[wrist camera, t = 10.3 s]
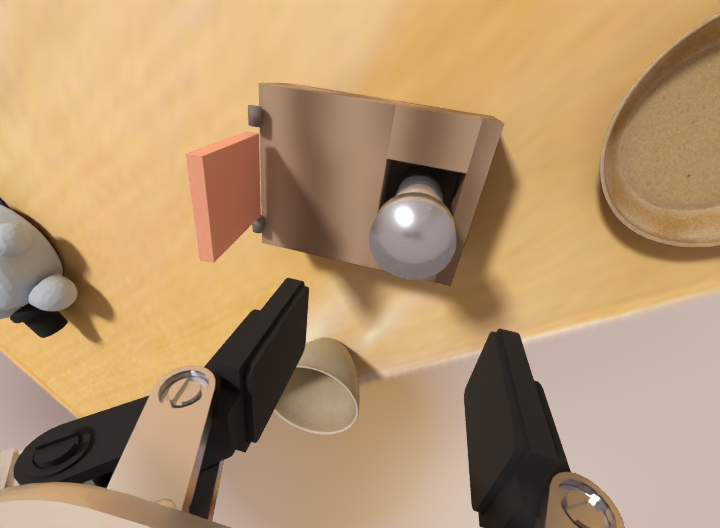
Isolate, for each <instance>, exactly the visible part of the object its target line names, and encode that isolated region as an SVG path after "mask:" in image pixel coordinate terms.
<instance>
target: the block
mask: <svg viewBox="0 0 720 528" xmlns="http://www.w3.org/2000/svg"><path fill="white" fill-rule="evenodd" d="M248 120H249V126H254V127H260V159H261V206H262V215H261V216H260V217H259V218H258V219H257V220H256V221H255V222H254V223H253V224H252V226H253V232H255V233H262V243H265V244H270V245H274V246H278V247H283V248H287V249H291V250H296V251H300V252H305V253H309V254H313V255H318V256H322V257H326V258H331V259H335V260H340V261H344V262H348V263H353V264H357V265H361V266H366V267H370V268H375V269H379V270H383V271H385V270H384V269H383V268H382V267H381V266H380V265H379V264H378V263H377V262H376V260H375V259H374V257H373V255H372V252H371V250H370V245H369V234H370V229H371V226H372V224H373V222H374V220H375V218H376V216H377V214H378V212H379V210H380V209H381V207H382V206H383V205H384V204H385V203H386V202H387V201H389V200H390V199H391V198H393V197H395V196H396V193H397V191H398V188H399V186H400V183H401V181H402V178H403V176H404V174H405V173H406V172H407V171H408V170H409V169H411V168H412V167H415V166H418V165H424V166H429V167H432V168H433V169H435V170H436V171H437V172H438V173H439V175H440V177H441V180H442V193H443V204H444V205H445V206H446V207H447V208H448V209H449V211H450V212H451V214H452V217H453V219H454V223H455V230H456V240H457V242H456V249H455V253H454V255H453V257H452V259H451V261H450V262H449V263H448V265H447V266H446V267H445V268H444V269H443V270H441V271H440V272H439V273H437V274H435V275H433V276H431V277H428V278H424V279H423V280H427V281H431V282H436V283H440V284H445V285H449V286H451V283H452V280H453V277H454V274H455V271H456V268H457V265H458V262H459V259H460V256H461V253H462V250H463V247H464V244H465V241H466V238H467V235H468V232H469V229H470V226H471V223H472V220H473V217H474V214H475V211H476V208H477V205H478V201H479V198H480V195H481V192H482V189H483V186H484V183H485V180H486V177H487V174H488V171H489V168H490V165H491V162H492V159H493V156H494V153H495V150H496V147H497V144H498V141H499V138H500V135H501V132H502V129H503V126H504V123H503V122H501V121H500V120H498V119H496V118H495V117H493V116H487V115H481V114H474V113H468V112H462V111H456V110H450V109H444V108H438V107H431V106H425V105H419V104H413V103H407V102H401V101H394V100H388V99H382V98H376V97H370V96H364V95H358V94H351V93H345V92H339V91H333V90H327V89H321V88H315V87H308V86H302V85H296V84H290V83H259V106H253V105H248Z"/></svg>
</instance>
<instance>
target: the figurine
mask: <svg viewBox="0 0 720 528" xmlns="http://www.w3.org/2000/svg"><path fill="white" fill-rule="evenodd" d="M62 274H63V267H62V263H61V261H60V258H59V256H58V255H57V253H56V251H55V250H54V248H53V247H52V245H51V244H50V243H49V242H48V240H47V239H46V238H45V237H44V236H43V235H42V234H41V233H40V232H39V231H38V230H37V229H36V228H35V227H34V226H33V225H32V224H30V223H29V222H28V221H27V220H25V219H24V218H23V217H21V216H20V215H18V214H17V213H15V212H14V211H12V210H10V209H9V208H7V207H6V206H5V205H4V204H3V203H2V202H1V201H0V319H3V318H7V317H10V319H11V320H12V321H13V322H14V323H21V322H24V323H25V324H26V325H27V326H28V327H29V328H30V329H32V330H33V331H34V332H35V333H36V334H37V335H38V336H40V337H41V338H44V337H48V336H50V335H52V334H54V333H56V332H58V331H59V330H60V329H62V328H63V327H64V326H65V325H66V324H67V323H68V322H67V320H66V319H65V318H64V317H63V316H62V315H61V314H60V313H59V312H58V311H60V310H63V309H65V308H67V307H69V306H70V305H71V304H72V303H73V302H74V301H75V300H76V298H77V288H76V286H75V284H74V283H73V282H72V281H71V280H69V279H67V278H66V277H64V276H62ZM27 303H28V304H27ZM25 304H26V305H25ZM23 305H24V306H23ZM22 306H23V307H22Z"/></svg>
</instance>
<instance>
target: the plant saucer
mask: <svg viewBox="0 0 720 528" xmlns="http://www.w3.org/2000/svg"><path fill="white" fill-rule="evenodd" d="M600 178H601V184H602V189H603V193H604V196H605V198H606V201H607V203H608V205H609V207H610V208H611V210H612V212H613V213H614V214H615V215H616V217H617V218H618V219H619V220H620V221H621V222H622V223H623V224H624V225H625V226H627V227H628V228H629V229H630V230H632V231H634V232H635V233H637V234H639V235H641V236H643V237H645V238H647V239H650V240H653V241H656V242H659V243H663V244H668V245H673V246H681V247H713V246H718V245H720V12H719V13H717V14H715V15H714V16H712V17H710V18H709V19H707V20H705V21H704V22H702V23H701V24H699V25H698V26H696V27H695V28H693V29H692V30H690V31H689V32H688V33H686V34H685V35H684V36H682V37H681V38H679V39H678V40H677V41H676V42H674V43H673V44H672V45H671V46H670V47H669V48H668V49H667V50H665V51H664V52H663V53H662V54H661V55H660V56H659V57H658V58H657V59H656V60H655V61H654V62H653V63H652V64H651V65H650V66H649V67H648V68H647V69H646V70H645V71H644V72H643V73H642V75H641V76H640V77H639V78H638V80H637V81H636V82H635V83H634V84H633V86H632V87H631V89H630V90H629V92H628V93H627V95H626V96H625V98H624V99H623V101H622V102H621V104H620V106H619V107H618V109H617V111H616V113H615V115H614V117H613V119H612V121H611V123H610V126H609V128H608V131H607V134H606V136H605V139H604V143H603V147H602V153H601V160H600Z"/></svg>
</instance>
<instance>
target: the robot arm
mask: <svg viewBox="0 0 720 528" xmlns="http://www.w3.org/2000/svg"><path fill="white" fill-rule="evenodd" d="M308 297H309V287H306V286H304V282H303V281H299V280H295V279H291V278H287V279H285V281H284V282H283V283H282V284H281V286H280V287H279V288H278V289H277V291H276V292H275V293H274V294H273V296H272V297H271V298H270V299H269V301H268V302H267V303H266V304H265V306H264V307H263V308H262V309H261V310H256V309H255V310H253V311H251V312H250V313H249V315H248V316H247V317H246V318H245V319H244V320H243V322H242V323H241V324H240V325H239V326H238V328H237V329H236V330H235V331H234V332H233V333H232V335H231V336H230V337H229V338H228V339H227V341H226V342H225V343H224V344H223V345H222V347H221V348H220V349H219V350H218V351H217V352H216V354H215V355H214V356H213V357H212V358H211V360H210V361H209V362H208V363H207V364H206V365H205V367H201V366H186V367H181V368H178V369H175V370H173V371H171V372H169V373H168V374H166V375H164V376H163V377H162V378H161V379H160V380H159V381H158V382H157V383H156V385H155V386H154V388H153V389H152V391H151V393H150V396H146V397H143V398H140V399H137V400H134V401H131V402H128V403H125V404H122V405H119V406H116V407H113V408H110V409H107V410H104V411H101V412H98V413H95V414H92V415H89V416H86V417H83V418H80V419H77V420H74V421H71V422H68V423H65V424H62V425H59V426H57V427H55V428H52V429H50V430H48V431H47V432H45V433H43V434H42V435H40V436H39V437H37V438H36V439H35V440H34V441H32V442H31V443H30V444H29V445H28V446H27V447H26V448H25V449H23V450H20V451H17V450H16V448H15V447H14V448H11V449H7V450H4V451H1V452H0V528H230V527H227V526H224V525H221V524H218V523H216V522H213V521H212V520H213V514H214V509H215V504H216V499H217V494H218V488H219V484H220V479H221V474H222V469H223V464H224V459H226V458H229V457H231V456H232V455H233V453H234V452H235V450H239V451H242V452H246V450H247V449H248V447H249V445H250V443H251V442H254V443H256V442H257V441H258V440H259V438H260V436H261V434H262V432H263V430H264V428H265V426H266V424H267V423H268V421H269V419H270V417H271V415H272V413H273V411H274V409H275V407H276V405H277V403H278V401H279V399H280V397H281V396H282V394H283V392H284V390H285V388H286V386H287V384H288V382H289V380H290V378H291V376H292V374H293V372H294V370H295V368H296V366H297V365H298V363H299V361H300V359H301V357H302V355H303V352H304V349H305V343H306V328H307V313H308ZM464 404H465V417H466V432H467V446H468V460H469V474H470V488H471V502H472V508H473V510H474V511H477V512H479V525H480V527H483V528H625V527H624V523H623V519H622V517H621V516H620V513H619V511H618V509H617V508H616V506H615V505H614V503H613V502H612V501H611V499H610V498H609V497H608V496H607V495H606V494H605V493H604V492H603V491H602V490H601V489H600V488H599V487H598V486H597V485H595V484H594V483H593V482H591V481H590V480H588V479H587V478H584V477H582V476H580V475H578V474H576V473H571V471H570V468H569V466H568V462H567V459H566V456H565V453H564V450H563V447H562V444H561V441H560V438H559V435H558V432H557V429H556V427H555V423H554V420H553V417H552V414H551V411H550V408H549V405H548V402H547V400H546V397H545V393H544V390H543V388H542V386H541V384H540V383H539V382H537V381H534V379H533V376H532V373H531V370H530V366H529V363H528V360H527V357H526V354H525V350H524V347H523V344H522V341H521V338H520V335H519V334H518V333H516V332H512V331H508V330H503V329H498V330H497V332H491V333H490V334H489V336H488V339H487V341H486V343H485V345H484V348H483V350H482V352H481V354H480V357H479V359H478V361H477V363H476V366H475V368H474V370H473V372H472V375H471V377H470V379H469V381H468V384H467V386H466V388H465V394H464Z"/></svg>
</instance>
